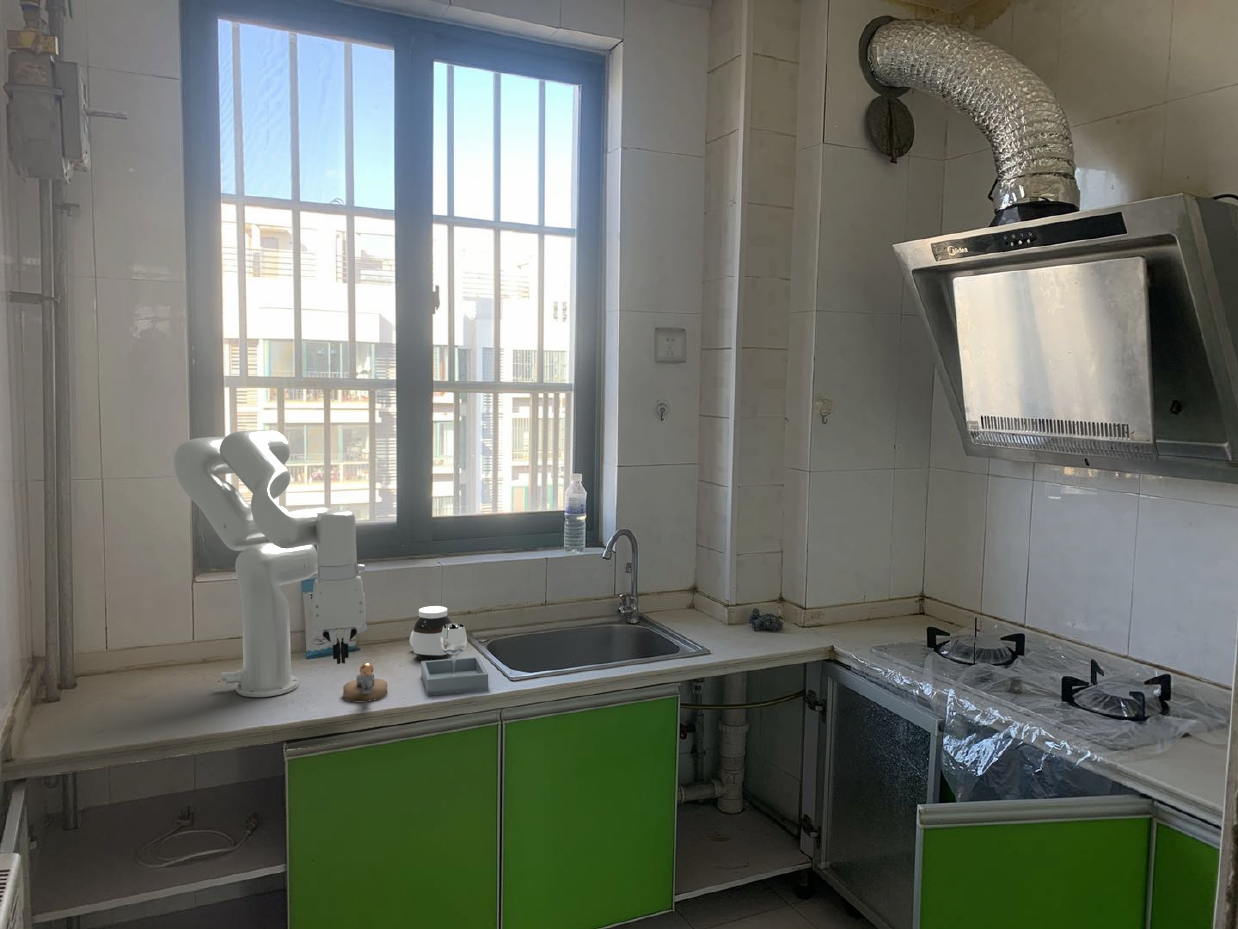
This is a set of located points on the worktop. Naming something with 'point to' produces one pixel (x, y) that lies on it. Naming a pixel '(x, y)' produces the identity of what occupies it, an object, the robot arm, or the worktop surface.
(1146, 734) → the worktop surface
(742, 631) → the worktop surface
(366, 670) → the crank
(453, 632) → the wineglass
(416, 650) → the spread jar
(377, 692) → the crank base
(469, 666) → the tray
